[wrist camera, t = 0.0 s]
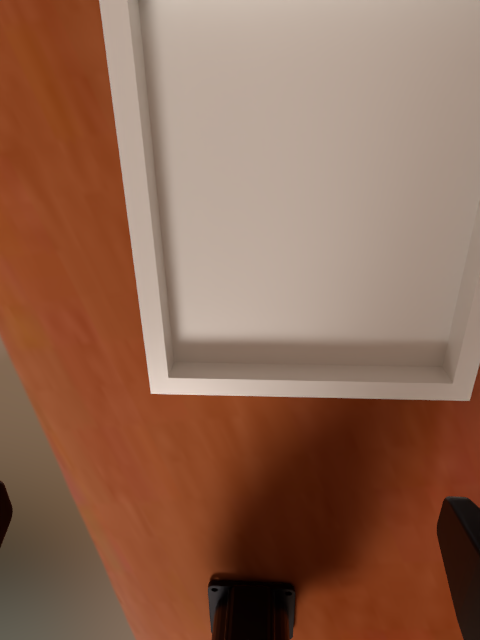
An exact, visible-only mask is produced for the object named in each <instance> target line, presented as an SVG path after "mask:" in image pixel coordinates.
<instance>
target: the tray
mask: <svg viewBox="0 0 480 640" xmlns="http://www.w3.org/2000/svg"><path fill="white" fill-rule="evenodd" d="M99 2H100V10H101V17H102V25H103V33H104V40H105V48H106V55H107V63H108V71H109V78H110V86H111V93H112V101H113V109H114V116H115V124H116V131H117V139H118V147H119V154H120V162H121V169H122V177H123V185H124V192H125V200H126V207H127V215H128V223H129V230H130V238H131V245H132V253H133V261H134V268H135V276H136V283H137V291H138V299H139V306H140V314H141V321H142V329H143V337H144V344H145V352H146V359H147V367H148V375H149V382H150V390H151V394H186V395H231V396H276V397H320V398H365V399H409V400H454V401H470V398H471V394H472V390H473V386H474V383H475V379H476V375H477V371H478V367H479V364H480V0H99Z"/></svg>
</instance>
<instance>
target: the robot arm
mask: <svg viewBox="0 0 480 640" xmlns="http://www.w3.org/2000/svg"><path fill="white" fill-rule="evenodd" d="M12 512H13V511H12V505H11V502H10V500H9V496H8V493H7V491H6V488H5V485H4V483H3V482H2V481H0V547H1V544H2V542H3V539H4V537H5V534H6V532H7V529H8V526H9V524H10V521H11V518H12ZM437 536H438V541H439V545H440V549H441V554H442V558H443V562H444V566H445V571H446V575H447V579H448V583H449V588H450V592H451V596H452V600H453V604H454V608H455V612H456V616H457V620H458V623H459V626H460V629H461V633H462V636H463V638H464V640H480V508H479V507H478V506H477V505H476V504H474V503H473V502H472V501H471V500H470V499H468V498H466V497H446V498H445V499H444V501H443V504H442V508H441V512H440V515H439V519H438V523H437ZM208 597H209V610H210V622H211V632H212V640H290V639H291V638H292V637H293V624H294V608H295V587H294V586H293V585H291V584H277V583H256V582H236V581H210V582H209V585H208Z"/></svg>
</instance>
